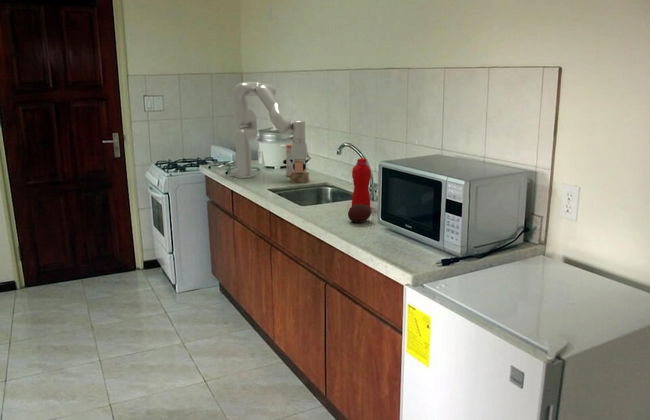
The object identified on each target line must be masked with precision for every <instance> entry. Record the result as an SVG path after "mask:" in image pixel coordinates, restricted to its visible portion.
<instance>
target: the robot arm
mask: <svg viewBox="0 0 650 420" xmlns="http://www.w3.org/2000/svg"><path fill="white" fill-rule="evenodd" d="M232 90H233V91H232V99H233V109H234V110H233V111H234V121H235V123H236V124H237V125H238V126H243V127H238V128H236V129H235V130H234V133H233V139H234V140H233V141H234V144H235V157H236V158H235V159H236V169H230V174H234V177H235V178H238V179H249V178H254V177H255V173H252V171H253V170H252V149H251V145H250V142H252V141H254V140H255V139H256V138H257V137H258V125H257V123H258V121H257V115H256V112H255V111H254V110H252V109H249V107H248V106H249V104H248V99H247V98H246V97H249V96H250V97H252V96H255V97H258V98H259V100H260V101H261V103H262V104H263V105H264V107H265V108H266V109H267V111H268V115H269V119H270V121H271V123H272V124H273V126H274V127H275V129H276V130H277V131H278V132H280V133H281V134H282V133H284V134H285V133H288V132H292V138H290V142H291V143H290V144H291V154H290V155H289V156H288V158H287V159H288V160H290V161H291V162H292V164H293V169H294V170H295V160H303V171H304V170H305V169H306V170H307V163H308V162H310V161H311V159H312V156H310V155H309V153H308V144H307V142H306V121H305V120H302V119H291V118H287V119H284V118H283V116H282V115H281V113H280V110H279V107H280V106H281V103H280V101H279V100H278V98H277V97H276V88H275V87H274V85H273V84H270V83H264V82H258V81H243V82H240V83H238V84H237V85H236V86H234V87H233V89H232ZM290 157H291V158H290ZM292 159H293V160H292ZM305 159H306V160H305Z"/></svg>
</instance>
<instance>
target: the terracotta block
mask: <svg viewBox="0 0 650 420" xmlns="http://www.w3.org/2000/svg"><path fill="white" fill-rule="evenodd" d="M295 172H303V161H296V162H295Z"/></svg>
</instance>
